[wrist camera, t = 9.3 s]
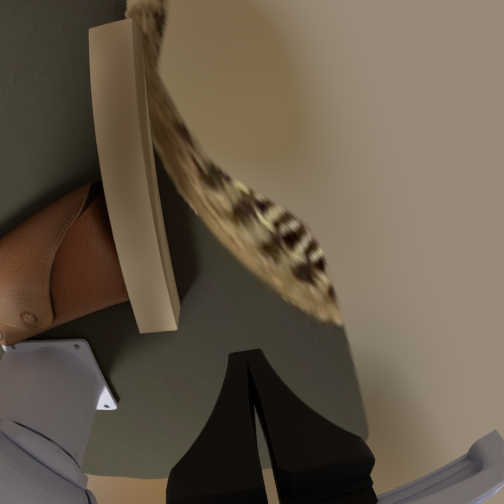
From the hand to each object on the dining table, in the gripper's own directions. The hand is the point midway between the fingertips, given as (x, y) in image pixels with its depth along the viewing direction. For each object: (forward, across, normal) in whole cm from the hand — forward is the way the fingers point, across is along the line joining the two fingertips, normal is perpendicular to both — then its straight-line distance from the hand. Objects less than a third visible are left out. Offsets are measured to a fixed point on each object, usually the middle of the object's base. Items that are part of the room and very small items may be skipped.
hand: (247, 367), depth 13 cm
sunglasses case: (+10, +15, -2) cm, 18 cm away
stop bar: (+9, +5, -8) cm, 13 cm away
